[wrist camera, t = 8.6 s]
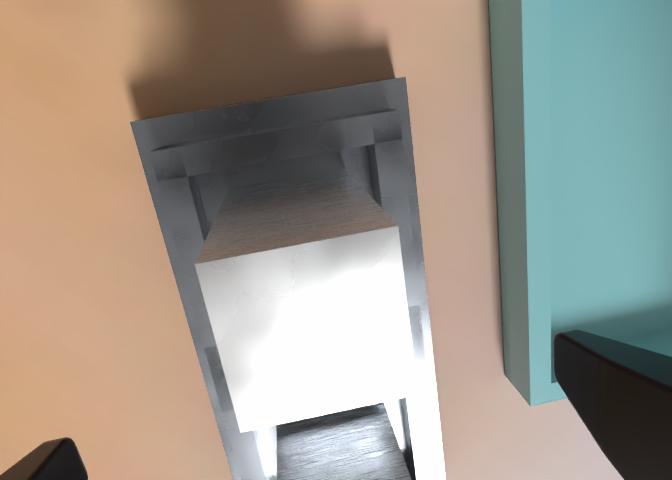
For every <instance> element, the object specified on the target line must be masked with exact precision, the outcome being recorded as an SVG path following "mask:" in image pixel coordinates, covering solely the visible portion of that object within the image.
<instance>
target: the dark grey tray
mask: <svg viewBox="0 0 672 480" xmlns="http://www.w3.org/2000/svg"><path fill="white" fill-rule="evenodd" d="M130 123H131V127H132V130H133V134H134V137H135V141H136V144H137V148H138V151H139V155H140V158H141V162H142V165H143V168H144V172H145V175H146V179H147V182H148V186H149V189H150V193H151V196H152V200H153V203H154V207H155V210H156V213H157V217H158V220H159V224H160V227H161V231H162V234H163V238H164V241H165V245H166V248H167V252H168V255H169V259H170V262H171V265H172V269H173V272H174V276H175V279H176V283H177V286H178V290H179V293H180V297H181V300H182V304H183V307H184V310H185V314H186V317H187V321H188V324H189V328H190V331H191V335H192V338H193V342H194V345H195V349H196V352H197V356H198V359H199V362H200V366H201V369H202V373H203V376H204V380H205V383H206V387H207V390H208V394H209V397H210V401H211V404H212V407H213V411H214V414H215V418H216V421H217V425H218V428H219V432H220V435H221V439H222V442H223V446H224V449H225V452H226V456H227V459H228V463H229V466H230V470H231V473H232V477H233V480H277V435H276V425H274V426H270V427H265V428H260V429H256V430H251V431H247V432H242V433H240V429H239V425H238V422H237V418H236V414H235V411H234V407H233V403H232V400H231V396H230V392H229V389H228V385H227V381H226V378H225V374H224V370H223V367H222V363H221V359H220V356H219V352H218V348H217V345H216V341H215V337H214V334H213V330H212V326H211V323H210V319H209V315H208V312H207V308H206V304H205V301H204V297H203V293H202V290H201V286H200V282H199V279H198V275H197V271H196V268H195V262H196V260H197V258H198V256H199V253H200V251H201V249H202V247H203V245H204V242H205V240H206V238H207V236H208V233H209V231H210V229H211V227H212V225H213V222H214V220H215V218H216V216H217V213H218V211H219V209H220V207H221V205H222V202H223V200H224V198H225V196H226V193H227V191H228V190H229V189H234V188H240V187H246V186H251V185H257V184H262V183H268V182H274V181H279V180H285V179H290V178H296V177H302V176H307V175H313V174H318V173H324V172H330V171H335V170H341V169H346V170H347V171H348V172H349V173H350V174H351V176H352V177H353V178H354V179H355V180H356V181H357V182H358V183H359V184H360V185H361V186H362V187H363V188H364V190H365V191H366V192H367V193H368V194H369V195H370V196H371V197H372V198H373V199H374V200H375V201H376V202H377V204H378V205H379V206H380V207H381V208H382V209H383V210H384V211H385V212H386V213H387V214H388V215H389V216H390V218H391V219H392V220H393V221H394V222H395V223H396V224H397V225H398V228H399V237H400V245H401V254H402V263H403V271H404V280H405V288H406V297H407V305H408V314H409V322H410V331H411V339H412V348H413V356H414V365H415V373H416V382H417V390H418V394H417V395H412V396H407V397H403V398H398V399H394V400H389V401H385V402H384V404H385V407H386V410H387V412H388V415H389V418H390V421H391V424H392V427H393V429H394V432H395V435H396V438H397V441H398V443H399V446H400V449H401V452H402V455H403V457H404V460H405V463H406V466H407V469H408V471H409V474H410V477H411V480H446V478H445V468H444V458H443V448H442V438H441V428H440V418H439V408H438V398H437V388H436V378H435V368H434V357H433V347H432V337H431V327H430V317H429V307H428V297H427V287H426V277H425V267H424V257H423V247H422V237H421V227H420V217H419V207H418V197H417V187H416V176H415V166H414V156H413V146H412V136H411V126H410V116H409V106H408V96H407V86H406V77H401V78H393V79H387V80H381V81H374V82H368V83H362V84H356V85H350V86H344V87H338V88H332V89H326V90H319V91H313V92H307V93H301V94H295V95H289V96H283V97H277V98H271V99H264V100H258V101H252V102H246V103H240V104H234V105H228V106H222V107H216V108H210V109H203V110H197V111H191V112H185V113H179V114H173V115H167V116H161V117H155V118H148V119H142V120H138V121H133V122H130Z"/></svg>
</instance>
